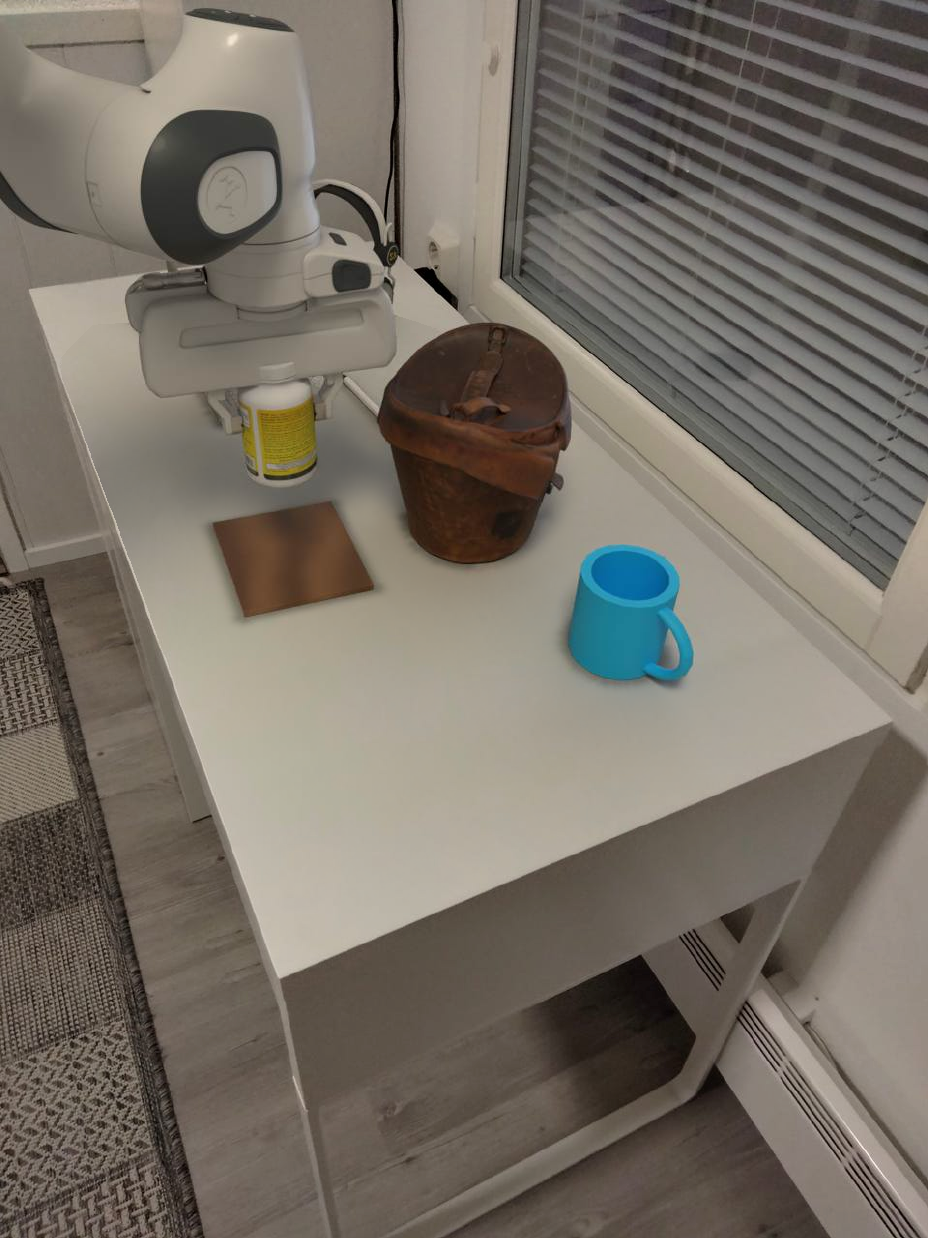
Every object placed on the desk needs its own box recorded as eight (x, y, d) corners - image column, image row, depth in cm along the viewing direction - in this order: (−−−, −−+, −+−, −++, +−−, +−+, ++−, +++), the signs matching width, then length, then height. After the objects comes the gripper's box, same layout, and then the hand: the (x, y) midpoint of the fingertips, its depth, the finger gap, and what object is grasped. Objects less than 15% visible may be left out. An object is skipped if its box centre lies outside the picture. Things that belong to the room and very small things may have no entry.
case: (419, 609, 85) (423, 436, 73) (354, 488, 99) (349, 326, 87) (594, 570, 91) (624, 403, 79) (510, 461, 104) (525, 304, 92)
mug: (549, 637, 83) (560, 565, 78) (615, 604, 87) (630, 533, 82) (645, 722, 76) (664, 649, 71) (713, 681, 80) (736, 610, 75)
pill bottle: (331, 463, 84) (325, 347, 77) (293, 497, 80) (283, 379, 73) (272, 444, 86) (260, 330, 79) (232, 477, 82) (216, 360, 75)
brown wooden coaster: (244, 617, 83) (243, 612, 83) (213, 527, 93) (212, 522, 92) (373, 589, 87) (373, 584, 87) (331, 505, 96) (331, 500, 96)
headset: (274, 308, 130) (260, 153, 116) (309, 290, 135) (300, 139, 122) (376, 343, 124) (374, 182, 110) (408, 322, 129) (410, 166, 115)
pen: (410, 453, 104) (410, 444, 103) (337, 377, 116) (336, 369, 115) (417, 451, 105) (418, 442, 104) (343, 376, 116) (343, 367, 116)
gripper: (125, 293, 66) (158, 463, 75) (404, 264, 72) (402, 423, 81) (114, 259, 70) (146, 424, 79) (378, 234, 76) (379, 389, 85)
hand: (278, 423), depth 80 cm, fingers closed on pill bottle, 6 cm apart
